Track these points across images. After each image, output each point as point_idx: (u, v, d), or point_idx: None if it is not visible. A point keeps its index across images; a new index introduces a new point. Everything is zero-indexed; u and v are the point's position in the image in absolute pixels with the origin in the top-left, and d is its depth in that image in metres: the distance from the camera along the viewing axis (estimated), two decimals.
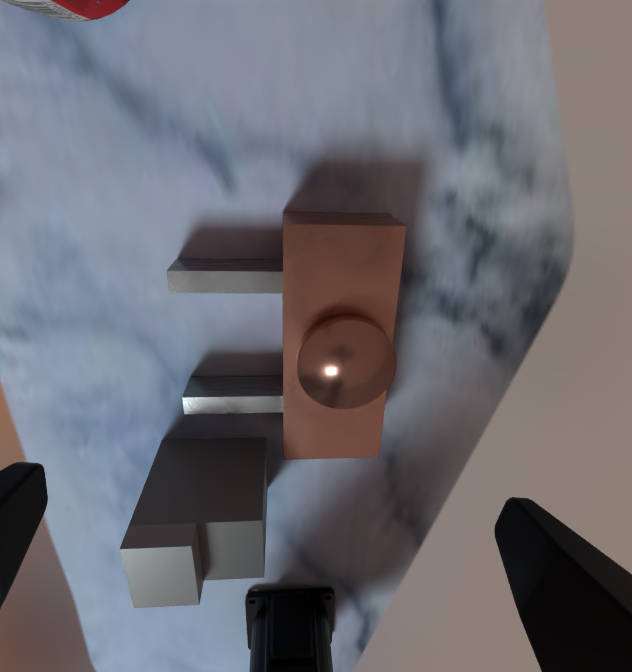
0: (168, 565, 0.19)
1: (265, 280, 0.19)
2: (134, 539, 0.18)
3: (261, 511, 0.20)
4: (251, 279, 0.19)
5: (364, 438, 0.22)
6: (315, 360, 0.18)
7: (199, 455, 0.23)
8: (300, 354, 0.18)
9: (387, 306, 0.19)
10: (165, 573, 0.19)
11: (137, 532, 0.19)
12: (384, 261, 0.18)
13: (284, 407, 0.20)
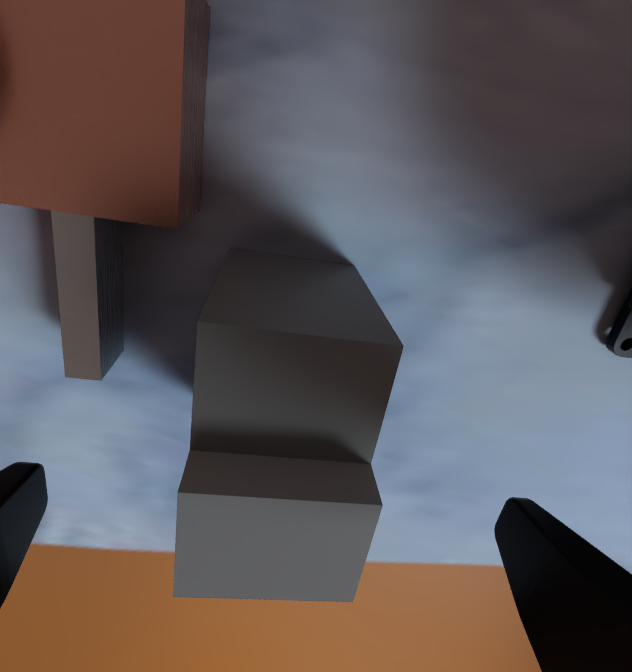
0: (235, 537, 0.09)
1: None
2: None
3: (200, 314, 0.08)
4: None
5: (117, 1, 0.08)
6: None
7: None
8: None
9: None
10: (259, 545, 0.09)
11: None
12: None
13: (27, 204, 0.09)
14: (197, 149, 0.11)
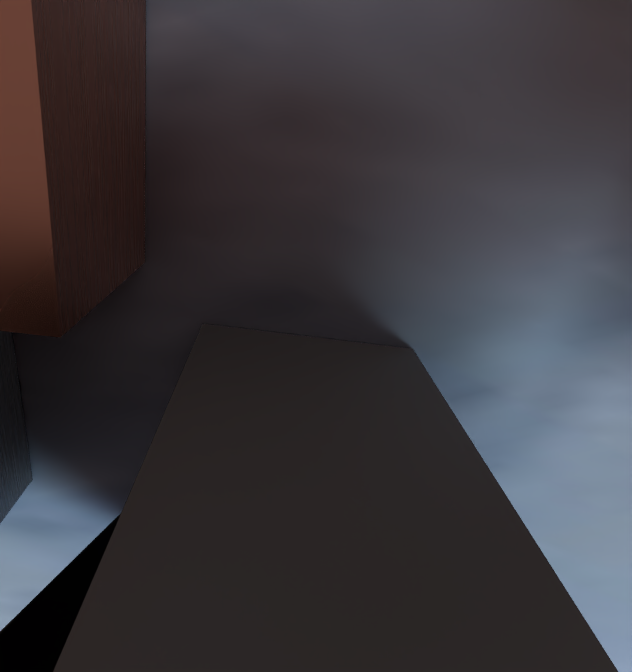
0: None
1: None
2: None
3: (55, 667, 0.03)
4: None
5: None
6: None
7: None
8: None
9: None
10: None
11: None
12: None
13: None
14: (126, 155, 0.06)
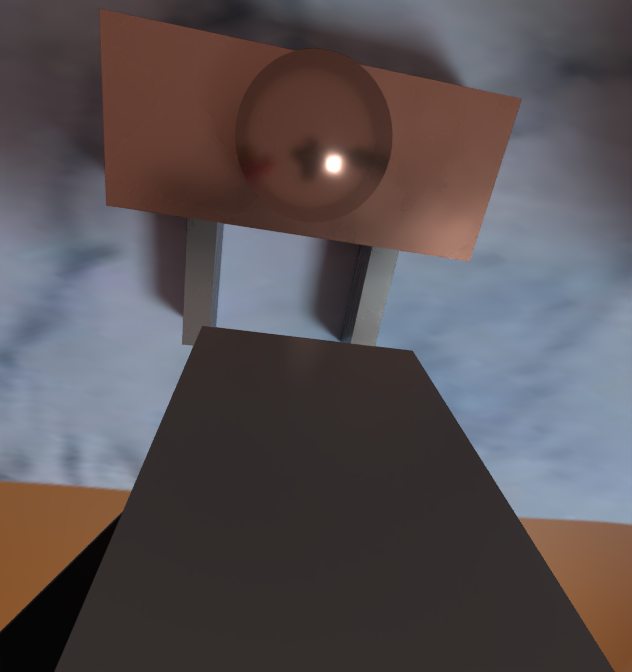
0: None
1: (198, 236, 0.15)
2: None
3: None
4: (196, 253, 0.15)
5: (473, 122, 0.13)
6: (294, 192, 0.12)
7: None
8: (281, 213, 0.13)
9: (233, 55, 0.12)
10: None
11: None
12: (157, 54, 0.11)
13: (379, 245, 0.14)
14: None
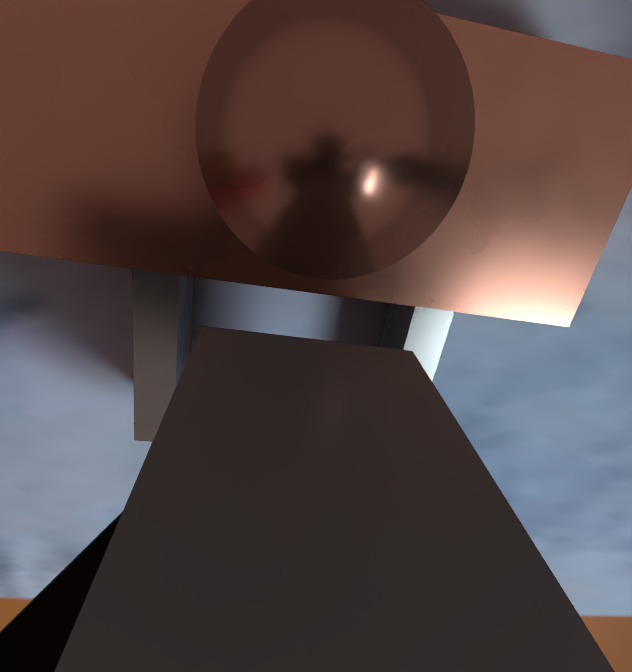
0: None
1: (151, 290, 0.09)
2: None
3: None
4: (149, 315, 0.10)
5: (599, 111, 0.08)
6: (300, 230, 0.07)
7: None
8: (279, 265, 0.07)
9: None
10: None
11: None
12: None
13: (433, 306, 0.09)
14: None
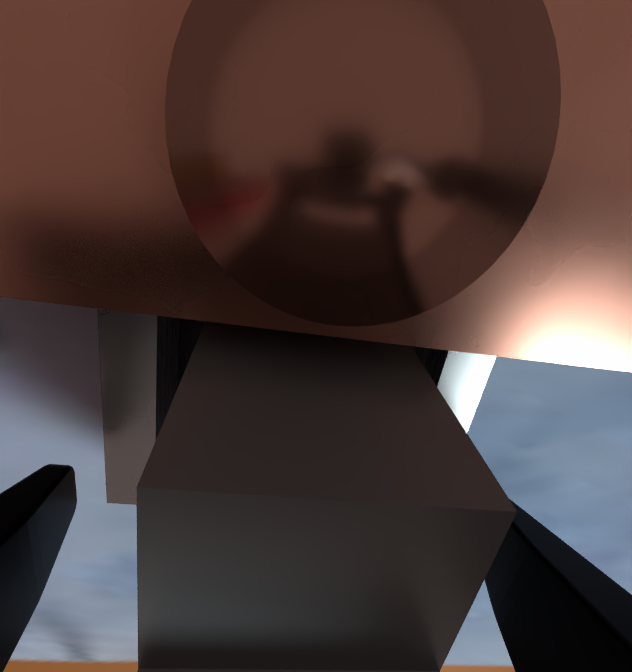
0: None
1: (122, 328, 0.08)
2: None
3: None
4: (120, 358, 0.08)
5: None
6: (313, 263, 0.05)
7: None
8: (283, 308, 0.05)
9: None
10: None
11: None
12: None
13: (478, 351, 0.07)
14: None
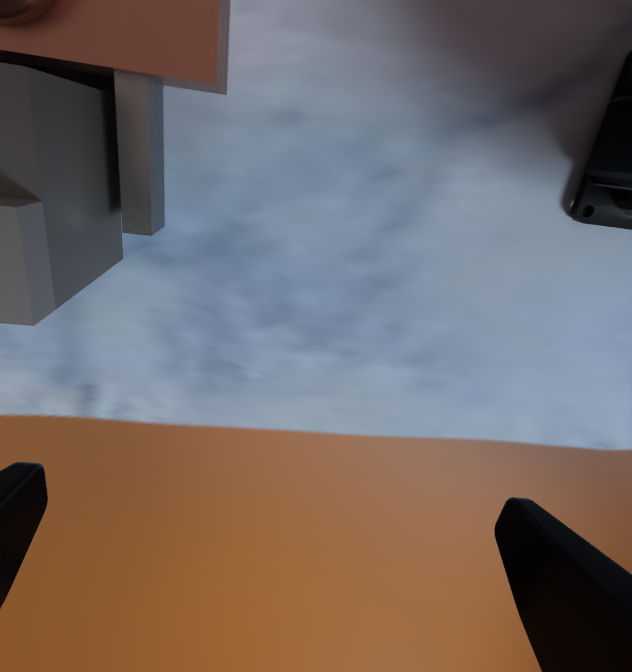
0: None
1: None
2: None
3: None
4: None
5: None
6: None
7: None
8: None
9: None
10: None
11: None
12: None
13: (101, 63, 0.12)
14: (226, 33, 0.14)
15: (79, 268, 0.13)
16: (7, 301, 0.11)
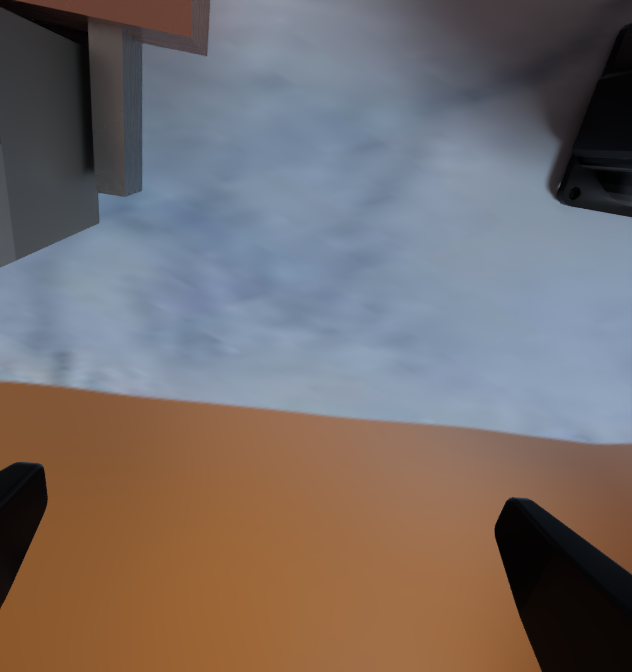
0: None
1: None
2: None
3: None
4: None
5: None
6: None
7: None
8: None
9: None
10: None
11: None
12: None
13: (72, 10, 0.12)
14: None
15: (46, 222, 0.13)
16: None
